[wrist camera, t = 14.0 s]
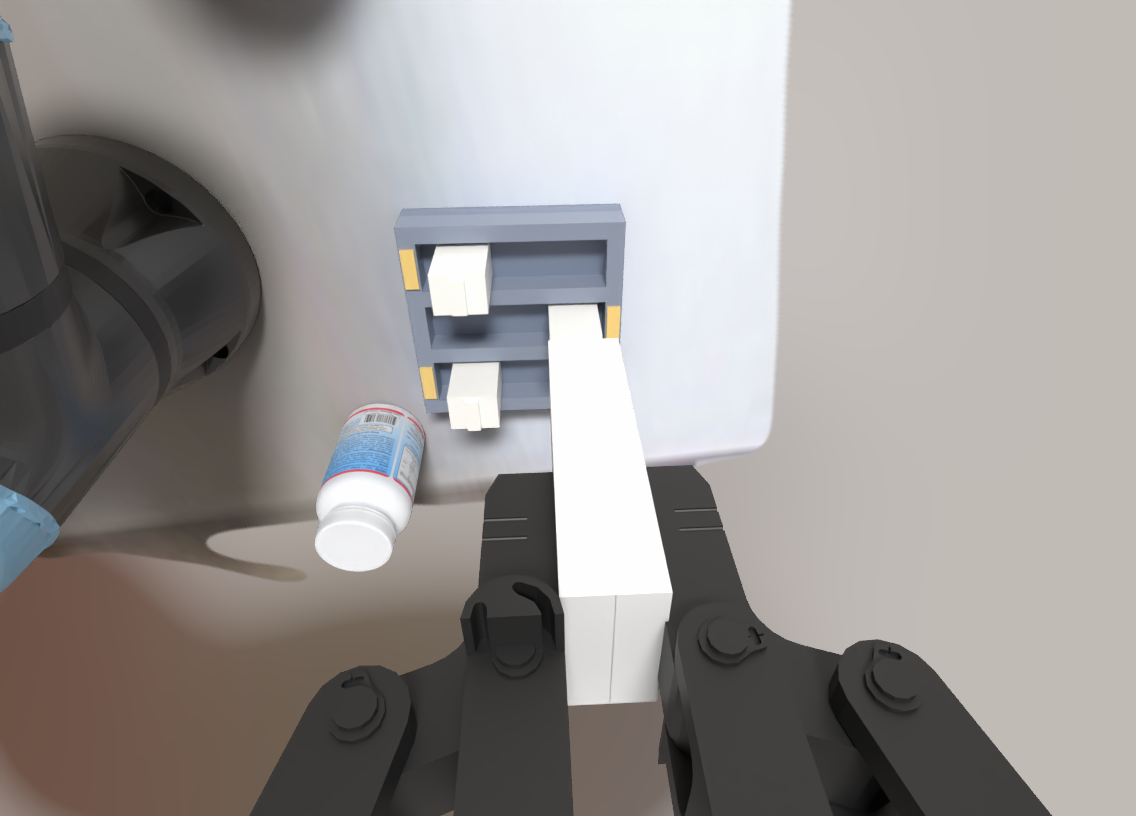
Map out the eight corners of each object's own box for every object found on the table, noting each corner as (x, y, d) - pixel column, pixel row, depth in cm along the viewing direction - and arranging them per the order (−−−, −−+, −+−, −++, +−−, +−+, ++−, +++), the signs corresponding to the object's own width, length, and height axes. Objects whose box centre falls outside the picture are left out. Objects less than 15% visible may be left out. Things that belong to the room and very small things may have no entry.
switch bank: (432, 387, 46) (426, 414, 43) (402, 208, 38) (393, 229, 36) (612, 381, 46) (617, 408, 44) (619, 203, 39) (626, 223, 36)
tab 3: (548, 329, 42) (551, 377, 37) (547, 296, 40) (550, 341, 36) (594, 327, 42) (602, 375, 38) (595, 294, 41) (603, 340, 36)
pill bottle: (330, 440, 48) (284, 556, 39) (368, 386, 46) (328, 498, 37) (401, 474, 51) (373, 591, 42) (441, 425, 48) (421, 539, 39)
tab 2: (458, 382, 44) (450, 434, 40) (454, 353, 43) (445, 402, 38) (502, 381, 44) (499, 432, 40) (499, 351, 43) (496, 401, 38)
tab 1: (443, 275, 39) (432, 320, 35) (438, 238, 38) (426, 279, 33) (492, 274, 39) (487, 318, 35) (489, 236, 38) (483, 277, 33)
